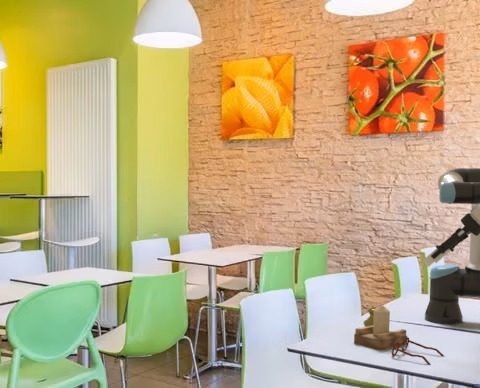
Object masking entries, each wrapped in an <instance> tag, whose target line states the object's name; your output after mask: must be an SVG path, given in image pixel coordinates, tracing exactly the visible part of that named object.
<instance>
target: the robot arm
mask: <svg viewBox="0 0 480 388" xmlns="http://www.w3.org/2000/svg"><path fill="white" fill-rule="evenodd" d="M437 187H438V189H439V202H440V203H442V204H449V205H451V204H460V205H461V204H464V205H465V204H466V205H467V204H468V205H471V209H470V210H469V213H466V214H464V216H463V217H462V218H461V219H460V222H461V224H462V225H463V227H458V228H457V229H456V230H455V232H453V233H452V234H451V235H450V237H448V238H447V239H446V240H445V241H443V242H442V243H441V244H440V245H439V244H437V245H436V246H435V249H434V250H433V251H432V252H430V254H428V255H427V256H426V257H425V258H424V259H423V260H422V262H423V263H424V264H425V265H426V267H428V268H429V267H430V266H432V265H433V264H434V263H435V264H437V263H439V261H440V260H442V259H443V258H444V257H445V256H446V255H448V254H449V253H450V252H454V251H455V248H456V246H457V245H458V244H460V243H462V242H463V241H465V240H466V239H468V238H469V257H468V258H469V260H468V262H466V263H465V266H464V268H461V267H460V265H458V264H440V265H434V266H433V267H432V268H430V273H429V274H430V275H429V301H428V304H427V307H426V309H425V313H424V319H425V320H426V321H428V322H433V323H437V324H447V325H449V324H450V325H456V324H461V323H463V320H464V317H463V314H462V313H463V312H462V310H461V307H460V303H459V302H460V301H459V300H460V299H459V298H461V297H462V298H463V297H464V298H475V299H476V298H477V299H480V168H479V167H477V168H475V167H474V168H472V167H471V168H470V167H469V168H467V167H465V168H462V167H460V168H453V169H449V170H447V171H445V172H444V173H442V175H440V176H439V178H438V181H437ZM469 235H470V237H469Z"/></svg>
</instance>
